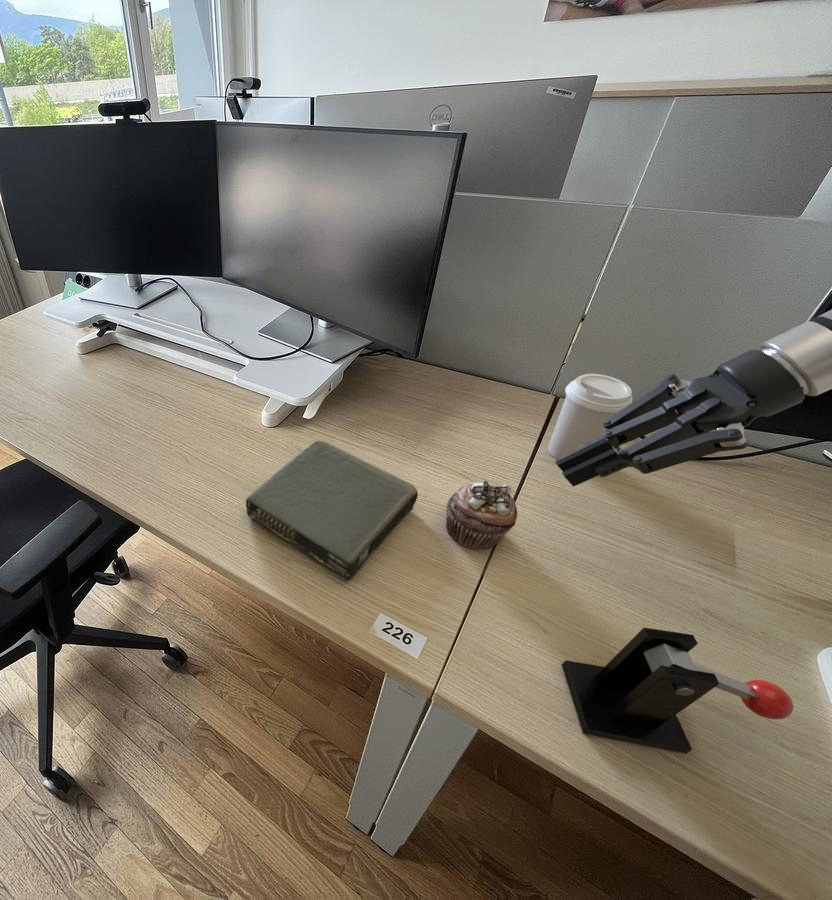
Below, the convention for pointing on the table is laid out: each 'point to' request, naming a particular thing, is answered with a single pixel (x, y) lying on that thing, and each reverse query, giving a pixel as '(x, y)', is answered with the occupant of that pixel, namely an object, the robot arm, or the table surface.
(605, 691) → the switch bracket
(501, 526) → the cupcake
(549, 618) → the table surface
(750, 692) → the switch lever
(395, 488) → the network switch
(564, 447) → the coffee cup
